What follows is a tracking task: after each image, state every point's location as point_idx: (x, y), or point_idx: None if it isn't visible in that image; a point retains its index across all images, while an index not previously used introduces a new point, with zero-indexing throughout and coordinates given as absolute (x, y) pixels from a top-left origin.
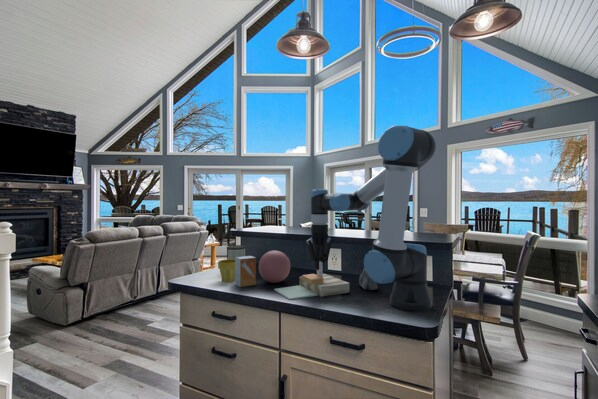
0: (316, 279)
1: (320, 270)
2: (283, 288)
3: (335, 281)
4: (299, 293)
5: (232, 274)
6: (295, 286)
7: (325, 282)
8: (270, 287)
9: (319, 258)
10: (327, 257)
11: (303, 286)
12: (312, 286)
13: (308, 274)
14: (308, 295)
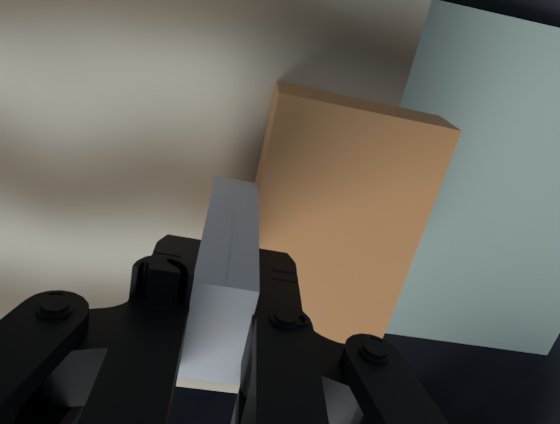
0: (383, 112)
1: (245, 221)
2: (493, 325)
3: (108, 21)
4: (522, 132)
5: None
6: None
7: (251, 69)
8: (502, 411)
9: (262, 356)
10: (25, 329)
11: None
12: None
13: None
14: (518, 21)
